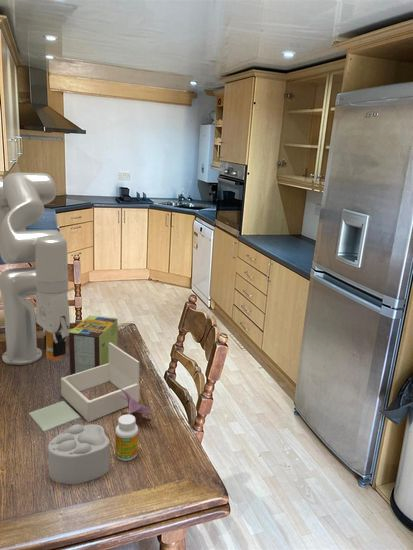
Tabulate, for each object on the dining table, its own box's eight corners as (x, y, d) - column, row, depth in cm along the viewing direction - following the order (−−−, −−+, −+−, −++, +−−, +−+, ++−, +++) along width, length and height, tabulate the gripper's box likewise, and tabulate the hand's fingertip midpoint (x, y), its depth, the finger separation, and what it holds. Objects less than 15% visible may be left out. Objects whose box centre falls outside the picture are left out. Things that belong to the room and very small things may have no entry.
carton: (61, 396, 127) (60, 356, 123) (110, 379, 138) (110, 342, 134) (88, 422, 115) (87, 379, 112) (139, 402, 126) (139, 362, 123)
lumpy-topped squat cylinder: (112, 473, 98) (112, 441, 96) (53, 491, 92) (51, 457, 90) (100, 446, 107) (100, 415, 105) (45, 460, 101) (44, 429, 98)
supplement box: (58, 361, 112) (57, 325, 109) (46, 359, 112) (44, 323, 109) (64, 355, 115) (63, 320, 112) (52, 353, 115) (51, 319, 112)
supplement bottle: (119, 463, 101) (119, 428, 99) (112, 449, 106) (112, 415, 103) (140, 457, 104) (141, 422, 101) (133, 444, 108) (134, 410, 106)
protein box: (118, 359, 151) (118, 318, 147) (100, 381, 136) (99, 336, 132) (89, 355, 153) (89, 314, 148) (69, 376, 138) (67, 331, 134)
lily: (154, 438, 113) (165, 401, 115) (112, 429, 108) (125, 391, 110) (140, 425, 123) (150, 392, 125) (101, 417, 118) (112, 383, 120)
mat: (28, 414, 118) (28, 412, 117) (63, 401, 124) (63, 400, 124) (44, 432, 111) (43, 430, 110) (80, 418, 117) (80, 416, 117)
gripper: (24, 279, 111) (27, 344, 116) (53, 297, 100) (55, 368, 105) (52, 275, 116) (54, 337, 121) (82, 291, 105) (84, 359, 110)
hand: (55, 351), depth 113 cm, fingers closed on supplement box, 4 cm apart
